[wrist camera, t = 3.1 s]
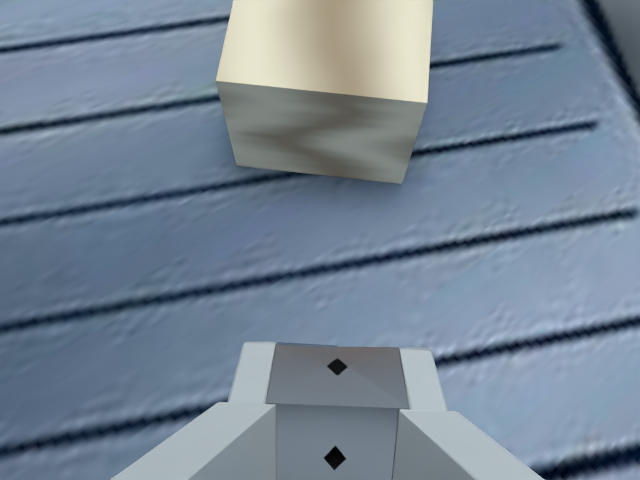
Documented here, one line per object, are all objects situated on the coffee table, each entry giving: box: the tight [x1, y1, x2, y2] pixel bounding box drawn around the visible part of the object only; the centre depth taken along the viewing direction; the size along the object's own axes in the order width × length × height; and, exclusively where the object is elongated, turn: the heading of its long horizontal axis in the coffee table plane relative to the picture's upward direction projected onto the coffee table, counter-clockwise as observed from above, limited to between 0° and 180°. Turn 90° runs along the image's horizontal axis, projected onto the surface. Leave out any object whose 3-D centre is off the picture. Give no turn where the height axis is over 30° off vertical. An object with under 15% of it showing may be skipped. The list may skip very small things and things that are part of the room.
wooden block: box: [216, 0, 433, 184], centre depth 30 cm, size 9×11×8 cm
